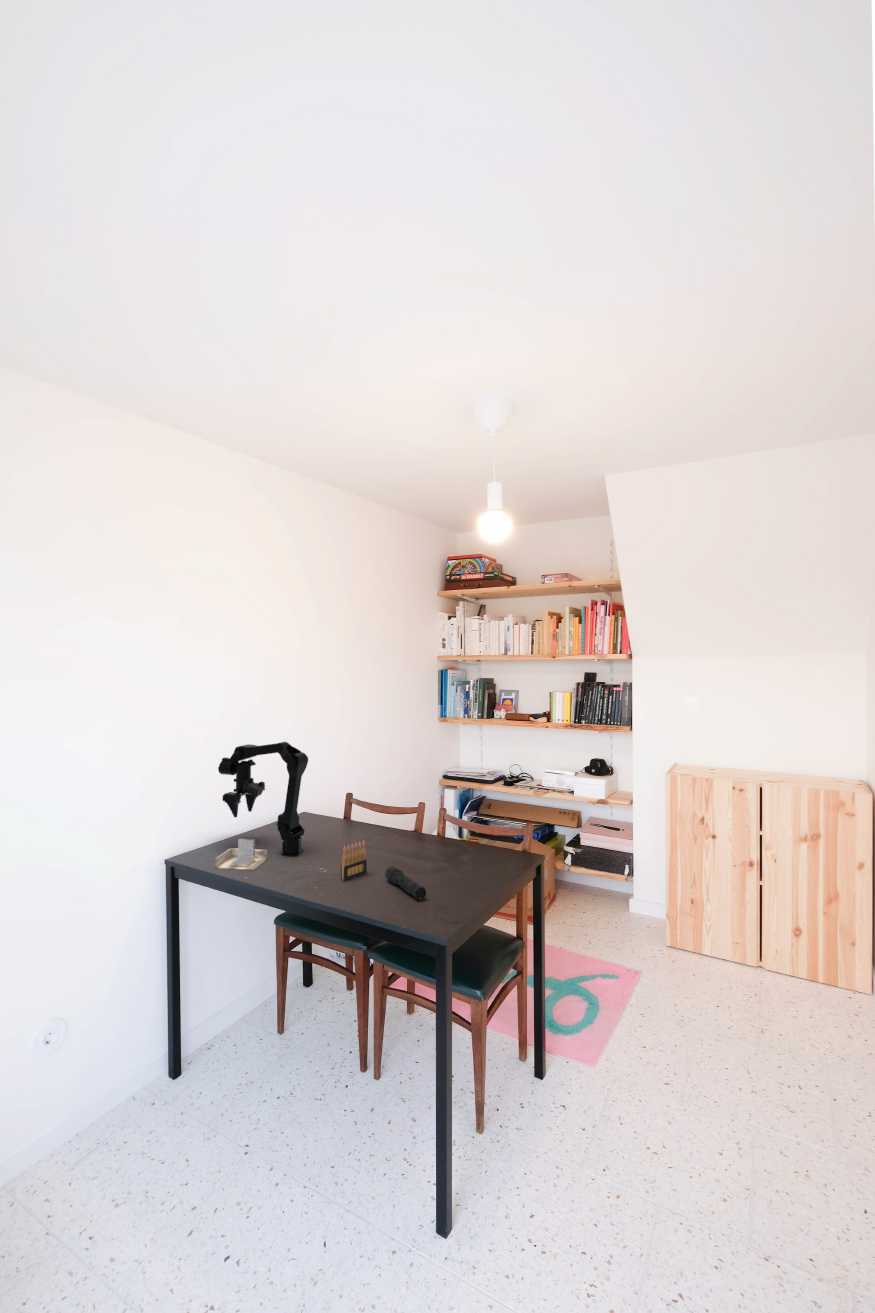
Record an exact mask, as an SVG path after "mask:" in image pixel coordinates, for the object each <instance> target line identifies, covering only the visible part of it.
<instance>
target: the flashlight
mask: <svg viewBox="0 0 875 1313" xmlns="http://www.w3.org/2000/svg"><path fill="white" fill-rule="evenodd" d="M384 876H385V879H386V880H387V881H388V882H390V883H391V884H392V885H394V884H396V885H395V886H400V888H401V889H403V890H404V891H405V892H407V893H408V894H410V896H411V895H412V897H414V898H415V899H416V900H418V901H420V900H419V899H420V898H422V900H424V899H425V898H426V895H427V890H426V888H425V887H424V886H422V885H420V884H419V883H418V882H417V881H415V880H413V879H411V878H410V877H408V876H405V874H404V872H403V871H402V870H401V869H399V868H397V867H396V866H393V865H392V866H389V867H387V868H386V870H385V873H384ZM423 898H424V899H423Z"/></svg>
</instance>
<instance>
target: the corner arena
mask: <svg viewBox="0 0 875 1313" xmlns="http://www.w3.org/2000/svg"><path fill="white" fill-rule="evenodd" d="M237 858H238V847H237V848H234V847H230V848H227V850H225V851H223V852H222V853H221V854H219V855H217V856H216V857H215V858H214V869H218V870H219V869H221V870H238V871H255V870H257V869H258V868H259V867H260V866H262V864H264V863H265V862H266V861H267V860H268V849H256V848H255V861H254V862H252V863H251V864H250V865H249V866H248V867H242V866H232V862H233V861H235V860H236V859H237Z"/></svg>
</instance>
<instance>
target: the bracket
mask: <svg viewBox="0 0 875 1313" xmlns="http://www.w3.org/2000/svg"><path fill="white" fill-rule="evenodd" d="M237 848H238V858H237V859H236V860H235V861H233V862H232V866H242V867H248V866H249V865H250V864H251V863H252V862H254V861H255V849H256V839H253V838H252V839H251V838H239V839H237Z"/></svg>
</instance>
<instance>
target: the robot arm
mask: <svg viewBox="0 0 875 1313" xmlns="http://www.w3.org/2000/svg"><path fill="white" fill-rule="evenodd" d="M270 754H279V755H280V758H281V760H282V761H283V762H284V763H286V770H287V773H288V782H287V790H286V798H285V803H284V811H283V812H282V813H280V814H278V816H277V823H276V826H277V831H278V832H279V835H280V837H281V841H282V844H281V845H282V847H281V851H282V853H281V855H282V856H288V857H289V856H293V857H298V856H299V855H300V854H301V853H302V852H303V851H304V850H303V849H302V836H304V834H305V832H306V830H305V829H304V827H303V826H302V825H301V824H300V816H299V814H298V805H299V797H300V792H301V785H302V783H301V782H302V777H303V775H304V772H305V771H306V769H307V767H308V764H309V757H308V755H307V754H306V753H305V752H303V751H301V750H300V749H298V748H296V747H295V746H293V745H291V743H289V742H287V741H281V742H277V743H270V744H262V745H256V744H248V743H247V744H243V745H238V746H237V747H235V749H234V751H233V753H232V755H231V756H230V757H222V758H221V761H220V763H219V765H218V768H217V770H218V773H219V774H221V775H227V776H228V775H229V776H235V778H233V782H235V788H234V789H233V791H229V792H226V793H224V794H223V795H222V802H224V804H225V803H226V804H227V806H228V807H229V810H230V812H231V814H232V815H233V817H234V818H237V817H238V811H239V805H240V803H241V802H242V800H241V799H242V797H243V796H245V802H246V807H247V810H248V812H250V813H251V812H253V809H254V808H253V807H254V805H255V802H256V800H257V798H258V797H259V796H262V793H263V792H264V791H265V790H266V788H265V787H266V783H265V782H264V781H259V782H254V778H253V777H252V767H253V766H255V765H256V762H255V761H253V759H251V758H255V757H256V756H263V755H270ZM247 759H248V760H247Z"/></svg>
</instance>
